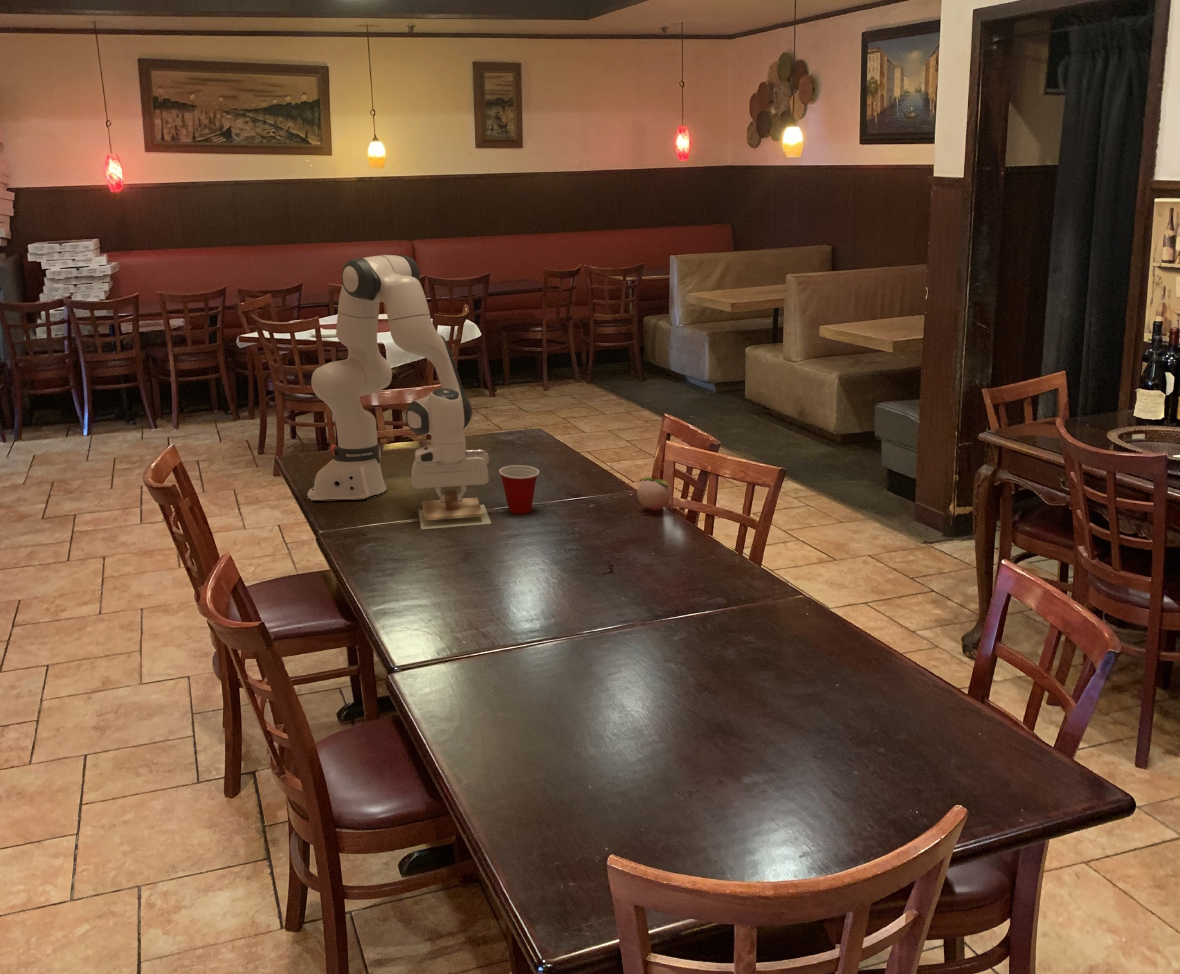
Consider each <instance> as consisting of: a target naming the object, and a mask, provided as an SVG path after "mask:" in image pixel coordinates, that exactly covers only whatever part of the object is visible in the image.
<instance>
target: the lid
mask: <svg viewBox="0 0 1180 974" xmlns="http://www.w3.org/2000/svg"><path fill="white" fill-rule="evenodd" d="M457 494H458V493H457V490H456V489H449V490H448V489H447V490H444V495H445V496H446V503H440V499H436V500H434V499H433V500H421V507H422V509H423V513H424V519H425V520H438V519H452V518H466V517H480V516H483V513H482V510H481V507H480V505H481V504H480V501H479V498H478V497H477V496H475V497H463V502H458V497H457Z"/></svg>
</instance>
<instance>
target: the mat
mask: <svg viewBox="0 0 1180 974" xmlns="http://www.w3.org/2000/svg"><path fill="white" fill-rule="evenodd" d="M480 507H481V510H482V513H483V516H480V517H466V518H452V519H438V520H425V519H424V513H423V511H420V512H421V513H420V512H419V511H418V512H419V513H418V518H419V523H420V529H421V530H428V529H429V530H430V529H431V530H432V529H443V528H444V529H445V528H454V527H464V526H465V527H467V526H478V525H489V524H492V521H491V519H490V516H489V514H488V511H487V509H486V506H485V504H480ZM421 509H422V510H423V508H421ZM420 514H421V515H420ZM420 519H422V520H420Z"/></svg>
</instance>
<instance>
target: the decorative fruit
mask: <svg viewBox="0 0 1180 974" xmlns="http://www.w3.org/2000/svg"><path fill="white" fill-rule="evenodd" d="M639 482H641V483H640V484H639V485H638V487H637V490H636V494H637V498H638V501H639V503H640V505H641V506H643V507H644V508H646V509H648V510H650V511H652V510H653V511H652V512H656V511H659V510H661V509H663V508H664V507H666V506H667V505H668V503H669V502H670V500H671V498H672V495H673V494H672V493H673V492H672V488H671V486H670V484H669V483H668V482H667V481H666V480H664V479H658V478H657V479H655V474H653V477H649V476H648V477H641V478H640V479H639Z"/></svg>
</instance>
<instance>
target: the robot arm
mask: <svg viewBox="0 0 1180 974" xmlns="http://www.w3.org/2000/svg"><path fill="white" fill-rule="evenodd" d="M420 279H421V273H420V267H419V265H418V263H417V262H416V260H415V259H414V258H412V257H411V256H408V255H404V254H397V255H392V254H378V255H373V256H367V257H356V258H353V259H351V260H350V259H349V261H347V262H346V263H345V264H344V266H343V268H342V271H341V282H342V283H341V284H342V285H341V289H340V293H339V299H338V305H337V307H338V308H337V317H336V318H337V319H336V328H335V329H336V331H335V335H336V338H337V340H338V341H339V342H340V344H342V345H344V346H345V347H346V348H347V353H348V355H347V358H346V359H341V360H336V361H335V360H334V361H330V362H328V363H325V364H323V365H321V366H319V367H317V368H316V369H314V371H313V372H312V376H311V381H310V383H311V387H312V390H313V392H314V394H315V396H316V397H317V398H318V399H319V400H321V401H322V402H324V403H325V404H326V405H327V407H329V409H330V411H331V413H332V416H333V417H334V421H335V426H336V435H337V443H338V444H337V445H336V444H332V445H331V446H330V452H331V458H332V459H331V460H330V461H329V462H327V463H326V465H324V466H323V467H322V468H321V469H319V471H317V473H316V475H315V477H314V486H313V487H311V488H310V489H309V490H308V491H307V495H306V496H308V497H307V499H308V498H310V499H311V500H324V499H326V500H327V499H357V498H358V499H359V498H360V499H361V498H366V497H368V496H372V495H375V494H379V493H381V492H384V491H385V490H386V489H387V490H388V488H387V485H386V482H385V481H384V477H383V473H382V472H383V471H382V468H381V457H382V456H381V447H380V443H379V442H378V433H377V432H378V431H377V421H376V418H375V416H374V415H373V413H372V412H370V411H368V410H366V409H364V407H363V404H362V402H361V397H362V396H367V395H371V394H376V393H378V392H380V391H382V390H384V389H386V388H388V387H389V386H390V384H391V382H392V378H393V370H392V367H391V365H390V363H389V361H388V360H387V359H386V358H385V357H383V356H382V354H381V351H380V349H379V344H378V328H379V327H378V326H379V317H380V316H379V314H380V302H381V301H382V302H383V303H384V305H385V310H386V315H387V316H386V317H387V322H388V328H389V332H390V336H391V338H392V340H393V343H394V344H395V345H397V347H399V348H400V349H402V350H403V351H405V352H407V353H409V354H413V355H416V356H419V357H420V356H421V357H423V358H425V359H426V360H428V361H429V362H431V364H432V365H433V366H434V369H435V372H436V375H437V377H438V381H439V384H440V385H441V388H436V389H434V390H432V391H431V392H430V394H429V395H427V396H425V397H424V396H423V397H422V398H418V399H415V400H412V401H411V402H410V403H409V405H408V406H407V408H406V413H405V420H406V424H407V427H408V428H409V430H411V431H412V432H413V433H414V434H416V435H418V436H419V435H420V436H421V435H422V436H426V435H430V436H431V439H430V441H431V443H430V444H428V445H426V446H422V447H420V448H419V447H418V448H417V449H416V450H415V451H414V458H415V459H414V460H413V463H412V467H411V486H412V487H413V488H414V489H417V490H418V489H432V488H433V489H435V492H436V494H437V495H438V497H439V500H440V503H446V496H445V494H442V493H441V491H442V488H448V487H460V491H459V493H457V497H458V502H463V498H464V497H463V496H464V494H465V492H466V491H467V486H478V485H480V486H481V485H487V484H488V482H489V481H490V480H489V479H490V477H489V476H490V475H489V470H488V464H489V463H490V455H489V453H488V452H487V451H485V450H483V449H466V437H465V434H464V430H465V429H466V428H467V427H468V425H469V423H470V422H471V419H472V417H473V407H472V404H471V401H470V399H469V397H468V395H467V393H466V392H465V390H464V387H463V383H462V381H461V378H460V375H459V371H458V369H457V366H456V363H455V360H454V357H453V354H452V352H451V349H450V346H449V343H448V341H447V340H446V338H445V337H444V336H443V335H441V334H440V333H438V331H437V329H436V328H435V325H434V324H433V321H432V318H431V314H430V308H429V305H428V302H427V298H426V294H425V292H424V289H423V286H422V284H421V282H420ZM312 489H314V490H312Z"/></svg>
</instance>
